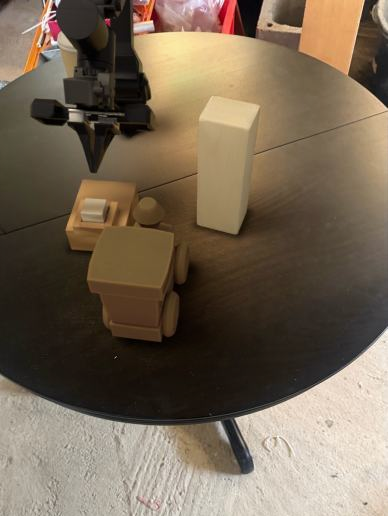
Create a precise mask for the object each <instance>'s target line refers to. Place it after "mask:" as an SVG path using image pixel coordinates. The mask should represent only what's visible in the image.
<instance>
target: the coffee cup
mask: <svg viewBox="0 0 388 516" xmlns="http://www.w3.org/2000/svg"><path fill="white" fill-rule="evenodd" d="M56 43H57V46H58V49H59V52H60V56H61V59H62V62H63V65H64V68H65V73H66V75H67V78H69V77H73V76H74V66H77V50H76V49H75V48H74V47H73V46H72V44H71V43H70V42H69V40H68V39H67V38H66V37H65V35H64V34H63V33H62V31H61V30H60V32H58V34H57V39H56Z"/></svg>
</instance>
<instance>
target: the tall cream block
mask: <svg viewBox="0 0 388 516" xmlns="http://www.w3.org/2000/svg"><path fill="white" fill-rule="evenodd" d="M260 113H261V105H259V104H257V103H251V102H248V101H247V102H246V101H241V100H236V99H231V98H227V97H222V96H218V95H211V97H210V98H209V100H208V101H207V103H206V105H205V107H204V109H203V110H202V112H201V114H200V115H199V118H198V122H197V123H198V129H197V133H198V135H197V181H196V182H197V185H196V186H197V189H196V190H197V191H196V225H197V226H200V227H203V228H207V229H211V230H215V231H219V232H223V233H227V234H231V235H238V234H239V231H240V229H241V226H242V224H243V221H244V219H245V217H246V214H247V210H248V206H249V205H248V204H249V197H250V189H251V181H252V175H253V167H254V160H255V153H256V144H257V138H258V137H257V136H258V129H259V121H260Z"/></svg>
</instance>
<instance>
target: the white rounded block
mask: <svg viewBox="0 0 388 516" xmlns="http://www.w3.org/2000/svg"><path fill="white" fill-rule="evenodd" d="M107 212H108V205H107V200H104V199H90V198H85V201H84V204H83V207H82V210H81V216H82V220H83V222H92V223H105V219H106V216H107Z"/></svg>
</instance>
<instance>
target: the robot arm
mask: <svg viewBox="0 0 388 516" xmlns="http://www.w3.org/2000/svg"><path fill="white" fill-rule="evenodd" d="M106 19H109V24H108V23H106V22H107V21H106ZM55 20H56V24H57V26H58V28H59V30H60V32H61V31H62V33H63V34H64V35H65V37H66V38H67V39H68V40H69V42H70V43H71V44H72V46H73V47H74V48H75V49H76V50H77V66H74V76H73V77H69V78H68V77H65V78H62V84H63V94H64V104H66V105H72V106H65V105H63V104H62V103H61V102H60V101H59V100H57V99H56V98H55V99H54V98H36V97H35V98H34V99H33V100H32V101H31V104H30V106H29V108H30V113H29V114H30V115H29V116H30V118H32V119H33V120H35V121H36V122H38V123H40V124H42V125H44V126H49V127H50V126H51V127H64V126H65V125H66V126H67V127H69V128H70V129H72V130H73V131H74V132H76V135H77V136H78V138H79V141H80V143H81V144H80V145H81V146H82V149H83V153H84V156H85V160H86V163H87V167H88V169H89V173H90V174H94V175H95V174H98V171H99V169H100V167H101V164H102V162H103V160H104V157H105V156H106V155H105V154H106V152H107V150H108V148H109V147H110V145H111V143H112V142H113V140H114V138H115V136H120V135H121V134H123V135H124V136H125V137H127V138H130V137H132V136H134V135H136V134H138V133H140V132H151V133H153V132H156V128H157V127H156V126H157V115H156V114H155V113H154V111H153V109H152V108H151V107H150V105H149V104H148V102H149V101H151V100H152V90H151V86H150V82H149V78H148V76H147V74H146V73H145V72H144V69H143V68H144V67H143V62H142V60H141V58H140V56H139V54H138V53H137V51H136V49H135V28H134V27H135V26H134V25H135V24H134V0H60V1H59V2H58V4H57V7H56V10H55ZM73 106H74V107H73ZM92 123H93V127H91V125H92Z"/></svg>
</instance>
